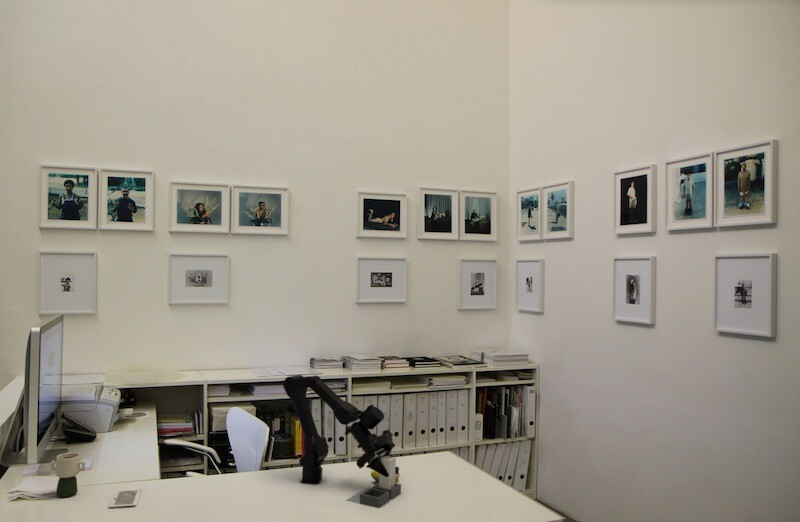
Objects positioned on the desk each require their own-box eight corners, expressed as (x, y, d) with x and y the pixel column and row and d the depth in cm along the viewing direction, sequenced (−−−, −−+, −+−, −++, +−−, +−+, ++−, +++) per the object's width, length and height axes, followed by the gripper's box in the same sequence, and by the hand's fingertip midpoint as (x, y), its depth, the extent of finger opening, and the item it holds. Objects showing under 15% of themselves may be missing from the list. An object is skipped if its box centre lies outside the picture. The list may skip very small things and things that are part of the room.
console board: (345, 503, 208) (345, 491, 208) (368, 489, 223) (369, 477, 223) (379, 511, 202) (379, 498, 203) (401, 496, 217) (401, 484, 217)
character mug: (88, 491, 211) (90, 452, 211) (79, 499, 204) (81, 458, 204) (54, 491, 210) (56, 452, 210) (44, 498, 203) (46, 458, 203)
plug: (378, 493, 214) (380, 458, 214) (384, 490, 218) (385, 455, 218) (389, 496, 212) (391, 460, 213) (395, 492, 216) (396, 457, 216)
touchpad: (141, 492, 213) (142, 485, 213) (135, 508, 199) (135, 501, 199) (116, 493, 211) (117, 487, 211) (108, 510, 197) (109, 503, 197)
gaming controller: (370, 487, 225) (397, 488, 225) (370, 471, 225) (398, 473, 225) (373, 473, 240) (399, 475, 240) (374, 459, 240) (400, 460, 240)
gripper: (365, 429, 209) (393, 468, 204) (391, 418, 226) (418, 454, 221) (344, 448, 212) (371, 487, 207) (371, 436, 229) (397, 472, 224)
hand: (390, 474), depth 215 cm, fingers closed on plug, 4 cm apart
